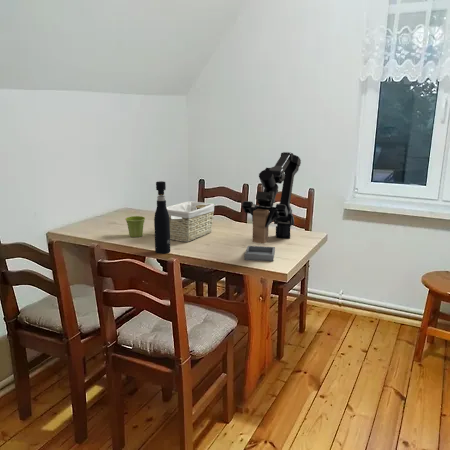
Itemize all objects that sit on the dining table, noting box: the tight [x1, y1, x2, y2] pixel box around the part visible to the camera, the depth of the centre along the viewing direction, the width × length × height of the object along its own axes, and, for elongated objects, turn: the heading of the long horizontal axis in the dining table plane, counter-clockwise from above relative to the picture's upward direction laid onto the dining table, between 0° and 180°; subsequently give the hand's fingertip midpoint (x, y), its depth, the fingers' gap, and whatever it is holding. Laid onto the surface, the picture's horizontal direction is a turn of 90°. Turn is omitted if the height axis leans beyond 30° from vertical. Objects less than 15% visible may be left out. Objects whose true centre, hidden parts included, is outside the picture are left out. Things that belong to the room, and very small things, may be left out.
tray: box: [244, 245, 276, 262], centre depth 188 cm, size 12×12×2 cm
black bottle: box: [153, 180, 171, 255], centre depth 190 cm, size 6×6×30 cm
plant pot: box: [124, 215, 146, 238], centre depth 217 cm, size 9×9×9 cm
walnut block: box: [251, 209, 270, 244], centre depth 185 cm, size 5×5×13 cm
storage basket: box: [166, 200, 215, 243], centre depth 217 cm, size 24×16×15 cm
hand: (259, 226), depth 184 cm, fingers closed on walnut block, 5 cm apart
